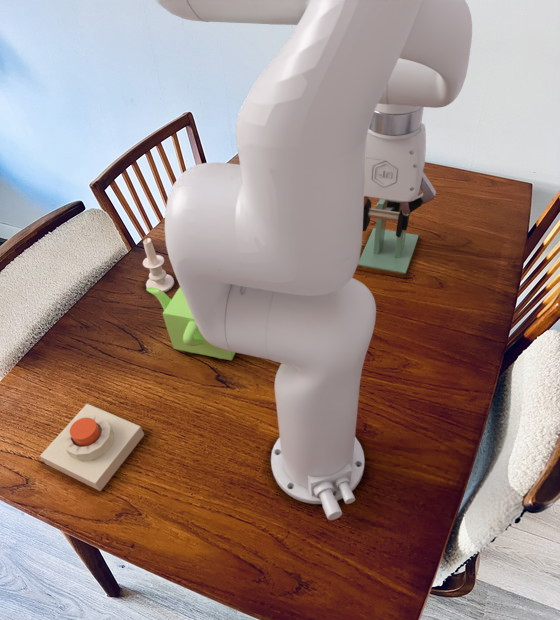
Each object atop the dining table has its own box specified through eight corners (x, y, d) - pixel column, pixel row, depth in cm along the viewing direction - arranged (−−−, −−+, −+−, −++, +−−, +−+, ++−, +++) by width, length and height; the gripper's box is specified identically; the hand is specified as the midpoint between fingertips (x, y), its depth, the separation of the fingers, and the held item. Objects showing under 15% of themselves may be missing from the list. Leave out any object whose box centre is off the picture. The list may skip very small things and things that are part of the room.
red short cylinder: (105, 430, 72) (101, 422, 71) (88, 450, 70) (84, 443, 69) (85, 421, 73) (81, 413, 72) (68, 440, 71) (63, 433, 70)
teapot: (159, 330, 90) (143, 282, 82) (227, 300, 94) (218, 251, 86) (197, 387, 81) (183, 339, 73) (270, 351, 85) (265, 302, 77)
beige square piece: (144, 434, 76) (137, 418, 73) (100, 491, 70) (90, 476, 67) (91, 411, 79) (82, 395, 76) (45, 464, 73) (33, 449, 70)
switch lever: (397, 225, 83) (400, 209, 81) (366, 220, 84) (369, 205, 83) (407, 215, 93) (410, 202, 92) (380, 211, 94) (382, 198, 93)
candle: (147, 296, 96) (131, 249, 88) (146, 278, 99) (130, 232, 91) (175, 290, 96) (162, 243, 88) (173, 273, 100) (160, 226, 92)
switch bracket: (405, 277, 95) (413, 221, 86) (357, 269, 97) (360, 213, 88) (418, 240, 102) (427, 184, 93) (373, 232, 104) (377, 177, 95)
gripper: (327, 122, 72) (326, 234, 86) (453, 135, 67) (430, 251, 81) (342, 99, 76) (339, 209, 90) (462, 110, 71) (439, 225, 85)
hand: (382, 228), depth 85 cm, fingers closed on switch lever, 5 cm apart
